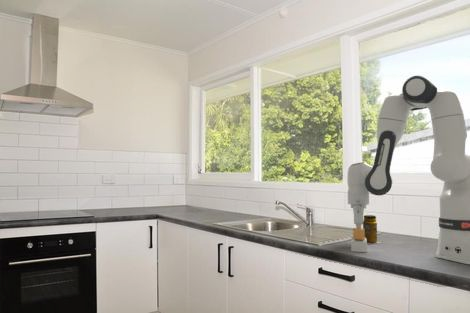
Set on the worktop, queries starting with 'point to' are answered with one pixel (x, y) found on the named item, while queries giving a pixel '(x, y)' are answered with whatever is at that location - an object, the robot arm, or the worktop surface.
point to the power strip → (358, 245)
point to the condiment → (370, 228)
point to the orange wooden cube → (359, 233)
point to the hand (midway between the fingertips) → (358, 232)
